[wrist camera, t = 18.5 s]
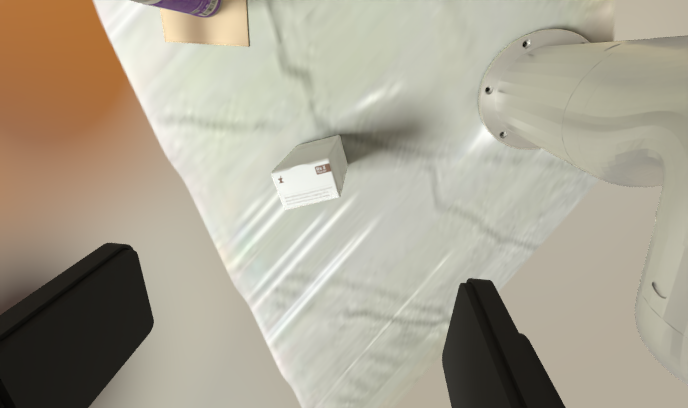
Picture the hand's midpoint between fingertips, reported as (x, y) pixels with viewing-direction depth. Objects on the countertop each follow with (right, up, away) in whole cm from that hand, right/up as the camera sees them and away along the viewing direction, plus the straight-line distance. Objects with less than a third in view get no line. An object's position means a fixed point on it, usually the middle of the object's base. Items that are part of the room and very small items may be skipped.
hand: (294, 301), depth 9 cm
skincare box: (-1, +9, +33) cm, 34 cm away
